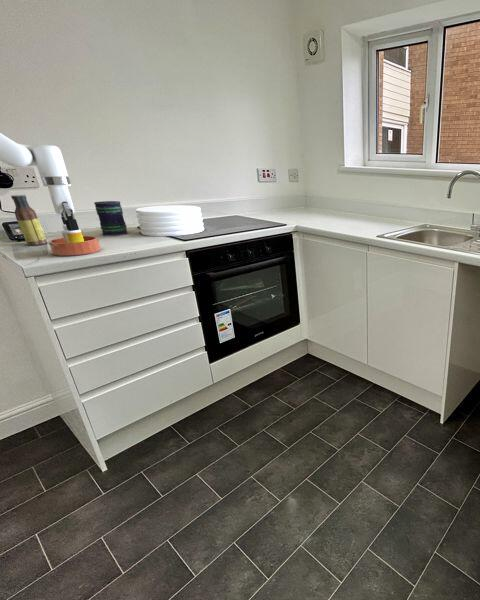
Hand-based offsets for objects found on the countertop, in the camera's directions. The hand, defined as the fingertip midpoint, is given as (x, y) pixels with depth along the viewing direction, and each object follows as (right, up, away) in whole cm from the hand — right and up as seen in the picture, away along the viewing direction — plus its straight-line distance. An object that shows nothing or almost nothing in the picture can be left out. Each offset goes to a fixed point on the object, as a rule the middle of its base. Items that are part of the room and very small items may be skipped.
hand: (71, 228), depth 134 cm
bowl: (-1, -9, +3) cm, 9 cm away
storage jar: (-13, +5, +37) cm, 40 cm away
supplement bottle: (-1, -8, +3) cm, 9 cm away
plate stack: (+8, +8, +48) cm, 49 cm away
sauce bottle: (-26, -4, +13) cm, 30 cm away
